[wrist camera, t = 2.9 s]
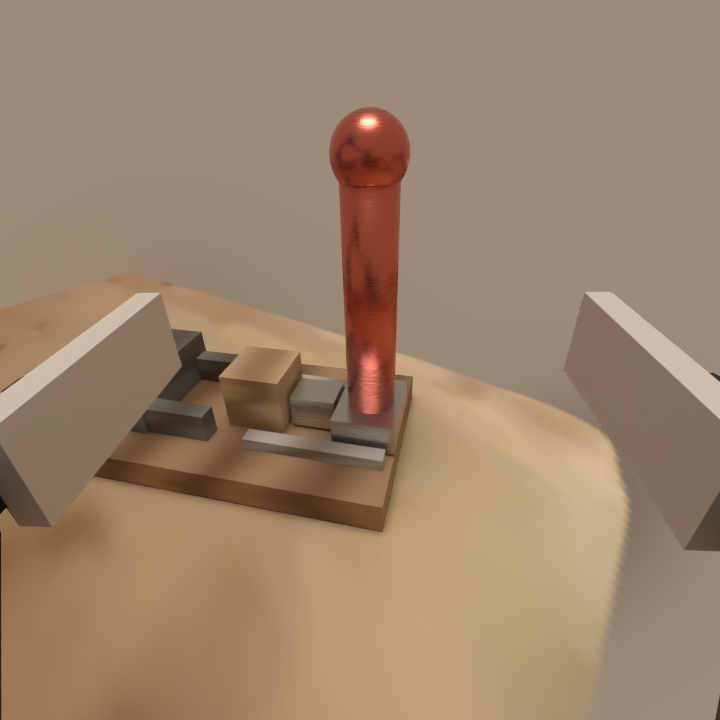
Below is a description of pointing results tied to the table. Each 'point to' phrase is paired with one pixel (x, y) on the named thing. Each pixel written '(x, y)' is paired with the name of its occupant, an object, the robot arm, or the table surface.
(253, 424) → the block
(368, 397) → the press lever
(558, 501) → the table surface
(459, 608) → the table surface
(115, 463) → the press bed
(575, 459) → the table surface
